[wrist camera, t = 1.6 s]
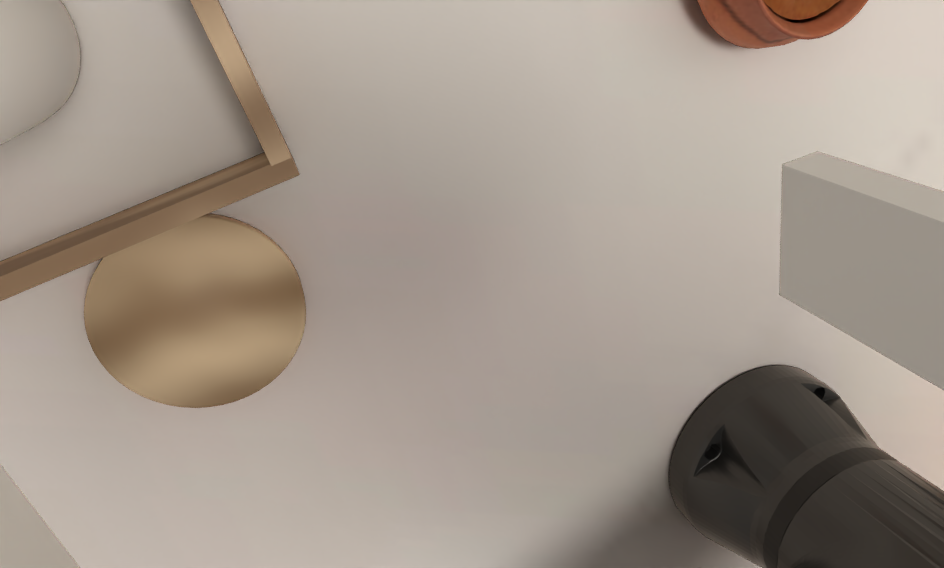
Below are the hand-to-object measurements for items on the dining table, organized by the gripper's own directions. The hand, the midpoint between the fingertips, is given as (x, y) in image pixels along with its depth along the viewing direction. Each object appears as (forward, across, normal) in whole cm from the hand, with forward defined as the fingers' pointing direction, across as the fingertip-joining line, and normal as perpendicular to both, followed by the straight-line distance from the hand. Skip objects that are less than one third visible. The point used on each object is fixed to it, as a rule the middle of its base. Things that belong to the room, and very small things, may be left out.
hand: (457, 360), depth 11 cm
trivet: (+27, +8, +10) cm, 30 cm away
